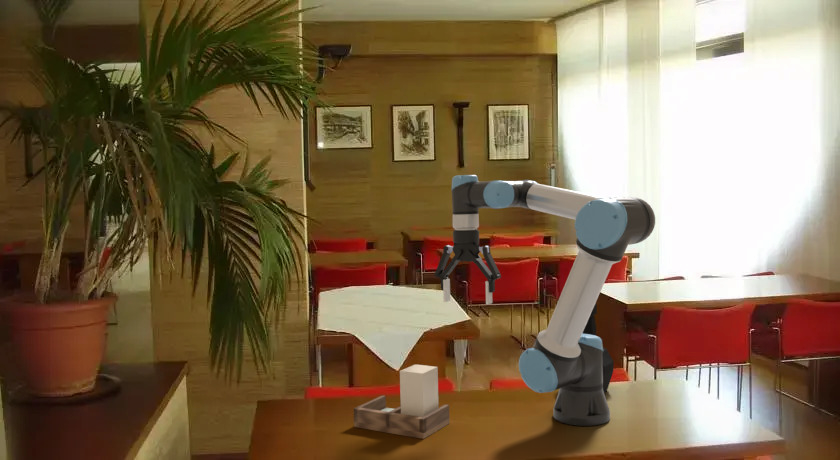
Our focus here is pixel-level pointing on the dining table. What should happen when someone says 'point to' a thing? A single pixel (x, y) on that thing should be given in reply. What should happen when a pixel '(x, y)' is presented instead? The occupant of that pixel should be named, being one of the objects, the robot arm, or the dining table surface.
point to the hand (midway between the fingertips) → (467, 302)
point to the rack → (399, 419)
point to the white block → (419, 390)
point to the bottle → (607, 359)
